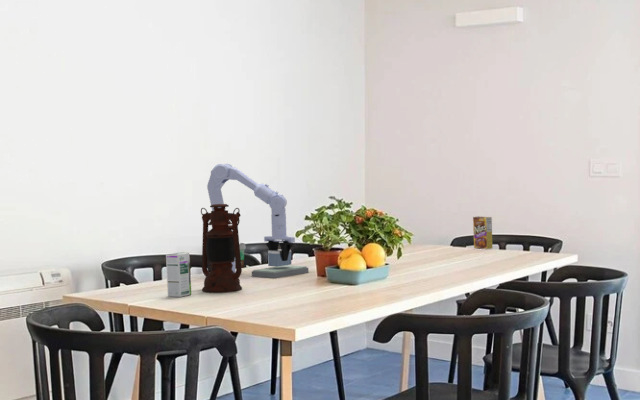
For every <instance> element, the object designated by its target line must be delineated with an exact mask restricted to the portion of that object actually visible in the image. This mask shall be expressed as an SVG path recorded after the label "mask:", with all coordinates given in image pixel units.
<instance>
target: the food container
mask: <svg viewBox="0 0 640 400" xmlns="http://www.w3.org/2000/svg"><path fill="white" fill-rule="evenodd" d="M239 245H240V256H241V267H242V269H243V268H244V266H245V265H244V263H245V250H246V249H247V246H246V244H245V243H243V242H239ZM235 270H236V262H235Z"/></svg>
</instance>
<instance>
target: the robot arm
mask: <svg viewBox="0 0 640 400" xmlns="http://www.w3.org/2000/svg"><path fill="white" fill-rule="evenodd" d="M229 180H231V181H232V180H233V181H238V182H239V183H241V184H243V185H244V186H246V187H247V188H248V189H250V190H251V191H253V193H254V196H255V197H256V198H258V199H259V200H261V201H262V202H263V203H265V204H267V205H269V208H270V209H271V219H270V220H271V235H269V236H263V240H264V242H266V243H265V245H266V246H267V248H268V251H269V250H277V249H279V246H280V249H281V250H282V259H283V261H287V260H288V255H289V252H290V249H291V250H292V247H293V245H294V243H295V242H296V240H295V239H296V238H295V237H293V236H288V235H287V216H286V215H287V214H286V213H287V212H286V206H287V204H288V202H287V199H286V197H285V196H284V195H283V194H279V192H278V191H275V190H273V189H272V188H270V186H269V184H268V183H265V184H264V183H258V182H257V181H255V180H253V179H252V178H251V177H249V176H248V175H247V174H246V173H244V172H243V171H241V170H240V169H238V168H237V167H235V166H232V164H230V163H218V164H216V165H215V166H214V167H213V168H212V170H210V175H209V178H208V182H207V184H206V186H207V187H206V189H207V193H208V198H209V202H210V203H209V204H210V206H211V205H213V204H225V203H224V198H223V194H222V187H223V186H224V185H225V184H226V183H227V182H228V181H229ZM210 208H211V211H214V209H213V208H214V207H210ZM218 208H221V207H218ZM232 265H233V267H232V270H233V272H234V273H235V272H236V269H235V261H234V262H232Z"/></svg>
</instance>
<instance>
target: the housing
mask: <svg viewBox="0 0 640 400" xmlns="http://www.w3.org/2000/svg"><path fill="white" fill-rule="evenodd" d="M267 261H268V263H267V264H268V265H267V266H268V267H279V266H285V265H292V248H291V249H290V252H289V255H288V260H287V261H283V259H282V250H281V248H278V249H277V250H269V249H268V250H267Z"/></svg>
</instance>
